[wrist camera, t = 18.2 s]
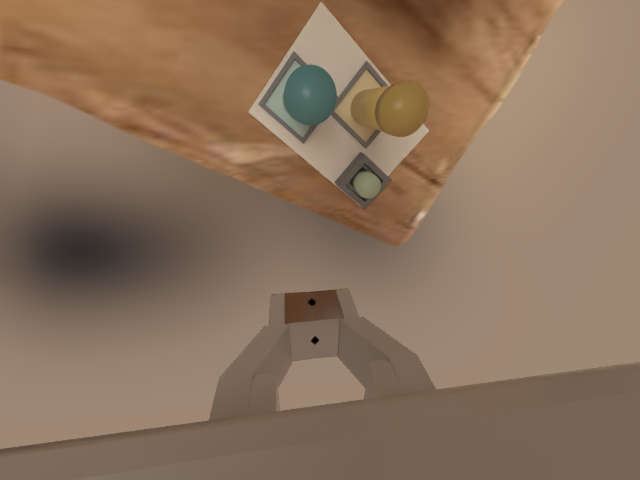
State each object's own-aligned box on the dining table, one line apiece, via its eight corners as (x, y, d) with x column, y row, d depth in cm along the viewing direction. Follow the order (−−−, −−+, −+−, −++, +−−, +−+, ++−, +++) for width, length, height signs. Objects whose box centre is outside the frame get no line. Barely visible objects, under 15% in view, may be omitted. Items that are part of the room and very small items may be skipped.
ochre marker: (371, 80, 31) (415, 69, 20) (387, 111, 33) (436, 115, 22) (343, 104, 32) (371, 105, 21) (360, 132, 34) (394, 147, 23)
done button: (360, 163, 35) (369, 169, 32) (375, 177, 37) (385, 184, 33) (345, 181, 36) (352, 188, 33) (360, 194, 37) (369, 203, 34)
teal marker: (295, 72, 29) (305, 50, 18) (322, 97, 31) (347, 92, 20) (274, 103, 31) (273, 100, 20) (302, 126, 32) (315, 136, 21)
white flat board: (319, 5, 28) (324, -8, 25) (425, 130, 36) (438, 132, 33) (249, 112, 32) (245, 112, 29) (358, 203, 40) (364, 211, 36)
